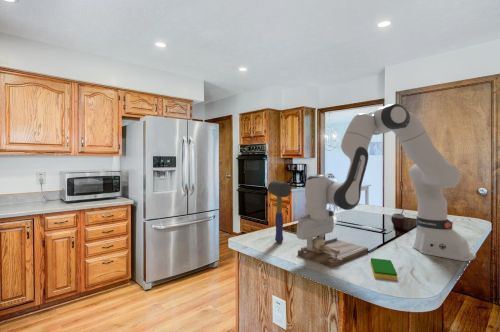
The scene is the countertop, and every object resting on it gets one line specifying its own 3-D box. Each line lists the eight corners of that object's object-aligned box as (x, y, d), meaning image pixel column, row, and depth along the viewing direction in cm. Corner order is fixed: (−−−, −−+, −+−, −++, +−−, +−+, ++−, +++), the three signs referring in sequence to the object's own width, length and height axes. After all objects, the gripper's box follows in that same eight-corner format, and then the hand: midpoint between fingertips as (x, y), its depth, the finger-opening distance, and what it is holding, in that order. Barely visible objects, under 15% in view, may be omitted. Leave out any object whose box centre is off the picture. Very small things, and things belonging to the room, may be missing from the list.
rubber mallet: (292, 245, 131) (292, 181, 130) (278, 247, 129) (278, 182, 128) (279, 238, 143) (279, 179, 142) (266, 239, 140) (266, 180, 139)
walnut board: (370, 253, 120) (370, 245, 120) (333, 268, 104) (333, 259, 104) (334, 243, 134) (334, 236, 134) (297, 255, 118) (297, 247, 118)
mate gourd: (388, 227, 164) (388, 202, 163) (397, 226, 167) (398, 201, 166) (400, 230, 157) (400, 204, 156) (409, 228, 160) (409, 202, 160)
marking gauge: (341, 256, 110) (341, 244, 109) (335, 259, 107) (335, 246, 107) (313, 247, 121) (313, 236, 120) (306, 249, 118) (306, 238, 118)
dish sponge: (390, 266, 107) (390, 259, 107) (397, 281, 94) (397, 274, 94) (370, 263, 109) (370, 257, 109) (374, 278, 96) (374, 271, 96)
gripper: (304, 218, 108) (304, 253, 108) (336, 211, 120) (336, 243, 121) (292, 215, 113) (292, 249, 113) (324, 209, 125) (324, 239, 126)
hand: (315, 246), depth 117 cm, fingers closed on marking gauge, 4 cm apart
